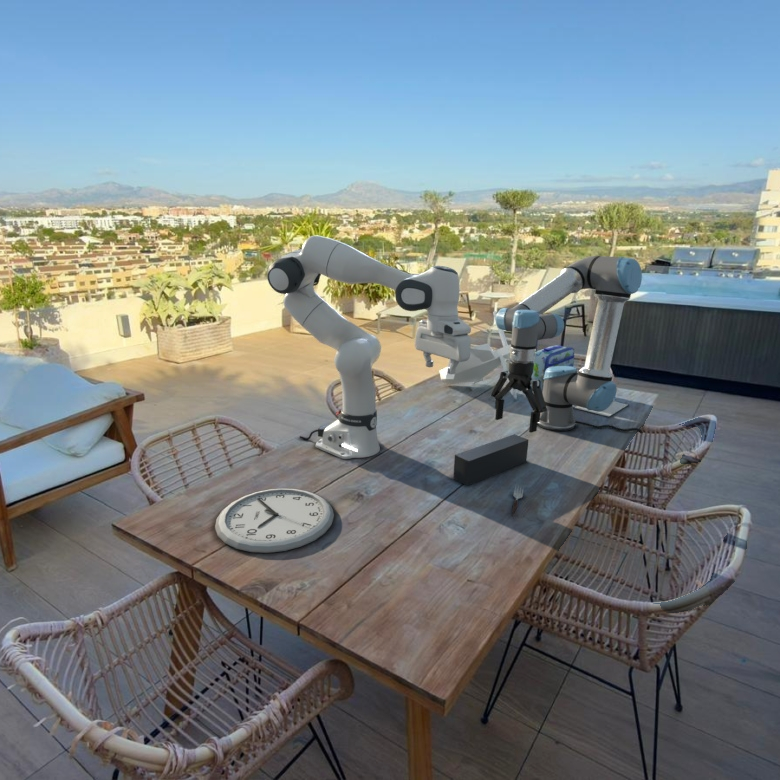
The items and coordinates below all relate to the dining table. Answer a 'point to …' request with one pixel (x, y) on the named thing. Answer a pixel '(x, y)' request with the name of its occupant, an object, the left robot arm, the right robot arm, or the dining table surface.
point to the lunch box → (551, 360)
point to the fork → (517, 496)
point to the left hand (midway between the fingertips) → (440, 370)
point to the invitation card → (609, 411)
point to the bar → (490, 459)
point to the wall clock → (274, 520)
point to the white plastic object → (480, 363)
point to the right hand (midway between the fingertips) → (515, 425)
